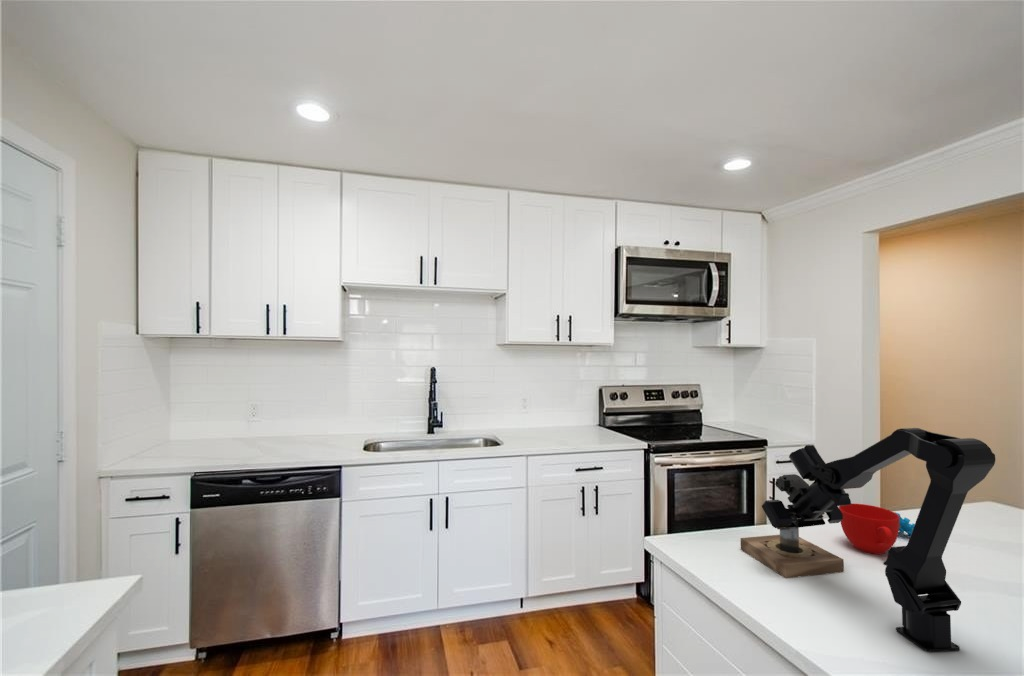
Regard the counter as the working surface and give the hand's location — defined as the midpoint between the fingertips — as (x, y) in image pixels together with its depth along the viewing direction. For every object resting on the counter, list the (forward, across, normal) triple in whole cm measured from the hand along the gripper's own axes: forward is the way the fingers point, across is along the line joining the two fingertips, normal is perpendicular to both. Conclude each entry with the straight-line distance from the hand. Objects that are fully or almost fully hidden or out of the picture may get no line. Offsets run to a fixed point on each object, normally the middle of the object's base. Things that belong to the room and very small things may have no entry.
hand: (785, 526), depth 119 cm
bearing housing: (+5, 0, +6) cm, 8 cm away
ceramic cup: (+5, -25, +7) cm, 27 cm away
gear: (+10, -42, +1) cm, 44 cm away
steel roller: (+4, 0, +6) cm, 7 cm away
